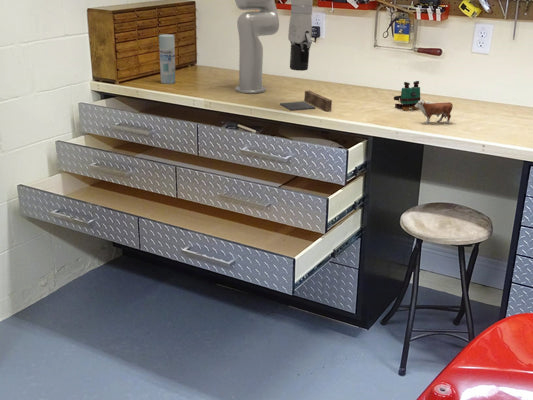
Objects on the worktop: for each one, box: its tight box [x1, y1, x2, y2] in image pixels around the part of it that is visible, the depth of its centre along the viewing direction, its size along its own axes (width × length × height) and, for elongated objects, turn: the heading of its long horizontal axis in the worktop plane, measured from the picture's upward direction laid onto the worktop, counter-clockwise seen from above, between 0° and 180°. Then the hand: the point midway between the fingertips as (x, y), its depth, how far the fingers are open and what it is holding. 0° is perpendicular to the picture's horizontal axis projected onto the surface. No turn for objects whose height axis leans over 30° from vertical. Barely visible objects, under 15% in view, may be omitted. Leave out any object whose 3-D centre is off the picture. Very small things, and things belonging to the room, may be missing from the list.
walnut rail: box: [303, 90, 333, 112], centre depth 241 cm, size 18×2×4 cm, turn 24°
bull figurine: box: [415, 98, 453, 125], centre depth 221 cm, size 4×13×8 cm, turn 95°
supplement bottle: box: [289, 41, 310, 72], centre depth 232 cm, size 7×7×12 cm
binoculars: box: [393, 80, 421, 111], centre depth 241 cm, size 9×11×10 cm
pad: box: [279, 101, 316, 111], centre depth 239 cm, size 10×10×1 cm
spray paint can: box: [158, 33, 176, 85], centre depth 272 cm, size 6×6×20 cm
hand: (299, 60), depth 233 cm, fingers closed on supplement bottle, 6 cm apart
